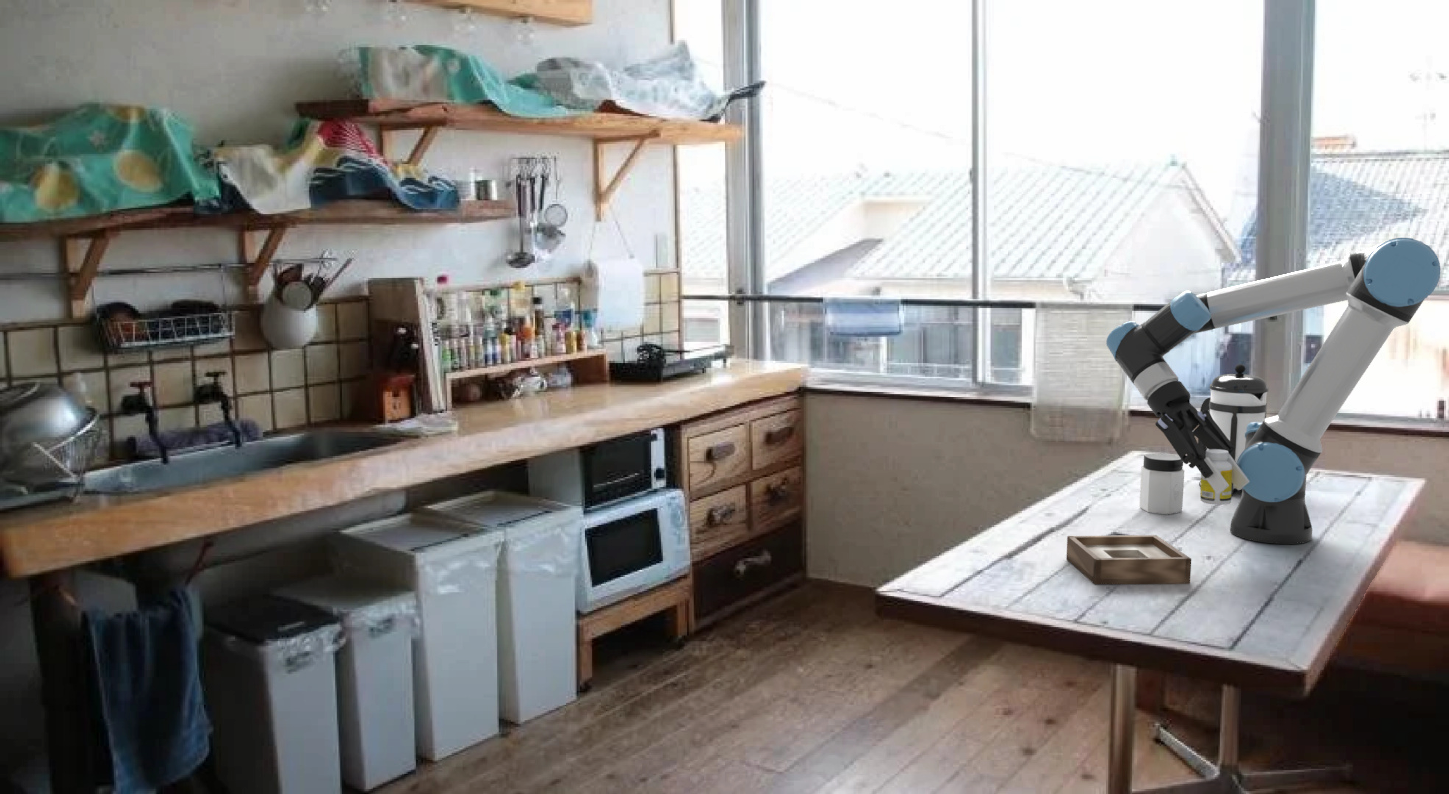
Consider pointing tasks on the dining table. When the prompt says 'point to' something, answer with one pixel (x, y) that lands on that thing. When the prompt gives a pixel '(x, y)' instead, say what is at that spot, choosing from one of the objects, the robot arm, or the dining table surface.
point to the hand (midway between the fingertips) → (1233, 487)
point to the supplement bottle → (1225, 470)
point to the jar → (1162, 483)
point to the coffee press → (1236, 407)
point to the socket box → (1128, 560)
